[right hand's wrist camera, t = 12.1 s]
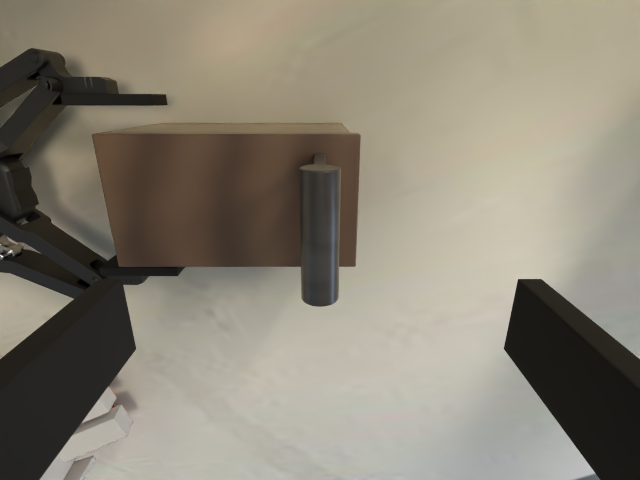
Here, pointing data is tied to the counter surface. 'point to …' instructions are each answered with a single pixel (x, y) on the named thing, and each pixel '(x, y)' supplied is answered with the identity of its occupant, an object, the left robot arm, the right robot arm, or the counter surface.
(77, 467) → the toy
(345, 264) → the lid
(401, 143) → the counter surface
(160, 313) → the counter surface
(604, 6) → the counter surface
